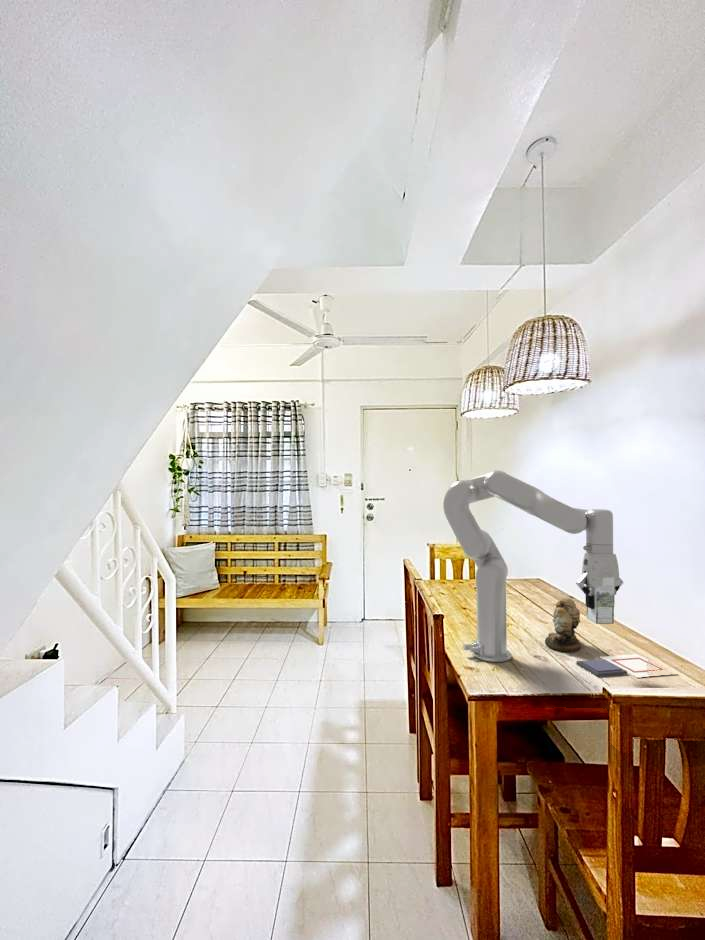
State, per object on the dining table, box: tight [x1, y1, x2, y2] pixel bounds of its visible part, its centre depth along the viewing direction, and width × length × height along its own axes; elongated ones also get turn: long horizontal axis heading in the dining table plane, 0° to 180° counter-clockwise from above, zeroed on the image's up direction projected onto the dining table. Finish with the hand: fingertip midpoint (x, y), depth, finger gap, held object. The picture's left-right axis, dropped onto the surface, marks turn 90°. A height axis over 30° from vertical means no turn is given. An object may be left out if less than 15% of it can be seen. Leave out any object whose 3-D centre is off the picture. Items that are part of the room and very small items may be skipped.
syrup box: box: [586, 577, 615, 625], centre depth 153 cm, size 6×6×14 cm
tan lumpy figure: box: [544, 596, 582, 654], centre depth 176 cm, size 18×12×17 cm, turn 158°
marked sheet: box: [598, 653, 663, 679], centre depth 156 cm, size 14×17×1 cm
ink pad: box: [575, 658, 628, 677], centre depth 153 cm, size 10×10×1 cm
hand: (600, 606), depth 153 cm, fingers closed on syrup box, 6 cm apart
